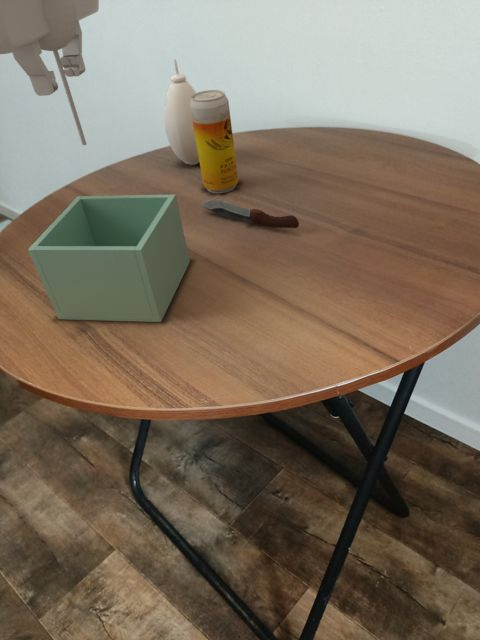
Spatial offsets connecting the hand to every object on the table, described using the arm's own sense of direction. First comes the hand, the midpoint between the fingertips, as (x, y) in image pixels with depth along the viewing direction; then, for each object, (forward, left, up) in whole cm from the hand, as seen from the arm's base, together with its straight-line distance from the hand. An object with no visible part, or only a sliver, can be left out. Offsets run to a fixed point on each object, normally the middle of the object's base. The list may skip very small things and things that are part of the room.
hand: (62, 83), depth 53 cm
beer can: (+6, +31, -25) cm, 40 cm away
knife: (+13, +18, -25) cm, 34 cm away
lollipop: (0, 0, -6) cm, 6 cm away
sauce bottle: (-2, +42, -25) cm, 49 cm away
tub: (0, 0, -25) cm, 25 cm away
